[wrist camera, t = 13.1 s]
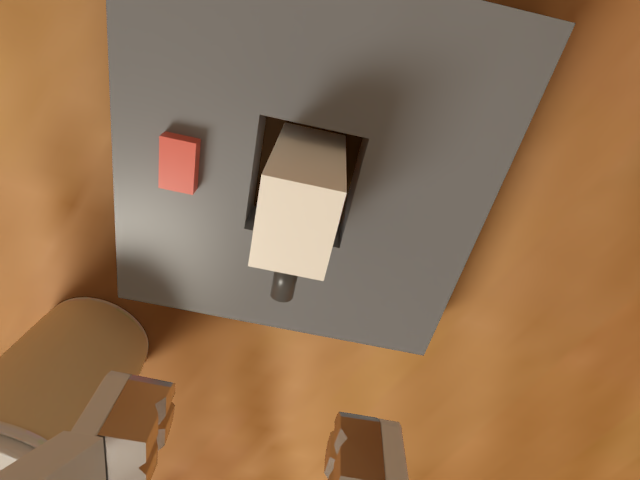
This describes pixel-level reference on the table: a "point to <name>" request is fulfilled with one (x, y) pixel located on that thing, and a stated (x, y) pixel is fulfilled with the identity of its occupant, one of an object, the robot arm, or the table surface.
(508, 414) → the table surface
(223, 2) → the socket plate
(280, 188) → the plug
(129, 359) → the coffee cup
